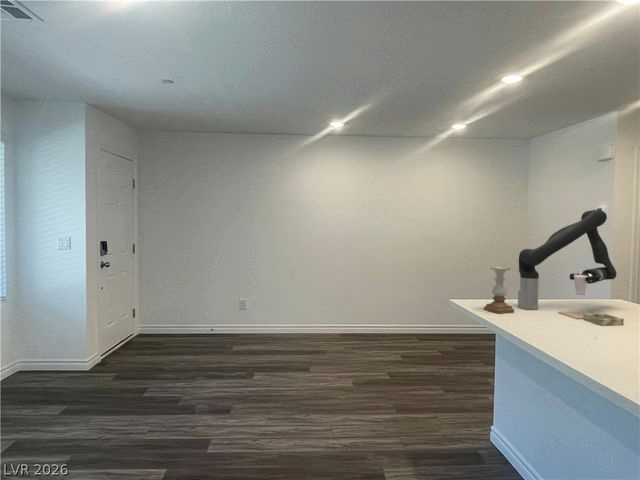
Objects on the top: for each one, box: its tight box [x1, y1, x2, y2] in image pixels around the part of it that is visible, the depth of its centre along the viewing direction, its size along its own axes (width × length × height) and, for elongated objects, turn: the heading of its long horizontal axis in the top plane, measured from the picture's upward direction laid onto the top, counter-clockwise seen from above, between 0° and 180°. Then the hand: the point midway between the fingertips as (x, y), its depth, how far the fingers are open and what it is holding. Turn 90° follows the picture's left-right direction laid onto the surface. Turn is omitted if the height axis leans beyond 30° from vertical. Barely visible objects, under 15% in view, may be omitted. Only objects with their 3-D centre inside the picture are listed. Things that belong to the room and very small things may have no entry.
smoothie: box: [574, 267, 588, 296], centre depth 209 cm, size 6×6×14 cm
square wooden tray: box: [582, 313, 625, 327], centre depth 196 cm, size 11×11×3 cm
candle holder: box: [483, 266, 515, 315], centre depth 220 cm, size 11×11×24 cm
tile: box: [557, 310, 591, 320], centre depth 210 cm, size 14×14×1 cm
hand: (578, 278), depth 208 cm, fingers closed on smoothie, 6 cm apart
